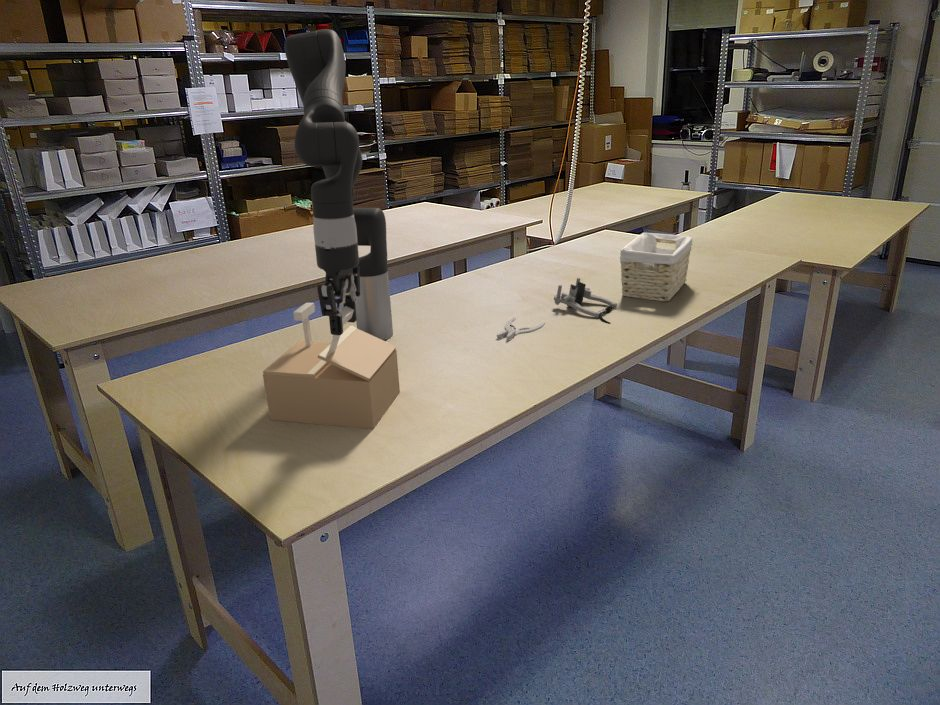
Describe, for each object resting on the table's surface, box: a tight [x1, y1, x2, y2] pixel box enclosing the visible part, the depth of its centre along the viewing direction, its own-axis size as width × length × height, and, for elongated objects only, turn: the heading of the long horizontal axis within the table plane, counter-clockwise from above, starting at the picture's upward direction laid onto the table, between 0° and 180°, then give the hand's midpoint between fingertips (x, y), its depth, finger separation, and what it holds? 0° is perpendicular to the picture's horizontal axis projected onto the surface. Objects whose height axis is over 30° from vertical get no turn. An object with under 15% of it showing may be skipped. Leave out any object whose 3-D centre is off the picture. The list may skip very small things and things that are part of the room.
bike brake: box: [553, 277, 618, 325], centre depth 186 cm, size 14×7×20 cm
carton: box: [262, 302, 401, 430], centre depth 134 cm, size 16×22×19 cm
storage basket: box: [619, 232, 693, 302], centre depth 199 cm, size 24×16×15 cm
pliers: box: [496, 317, 546, 342], centre depth 174 cm, size 10×2×15 cm
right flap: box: [317, 306, 397, 381], centre depth 129 cm, size 16×11×9 cm
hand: (344, 327), depth 125 cm, fingers closed on right flap, 6 cm apart
